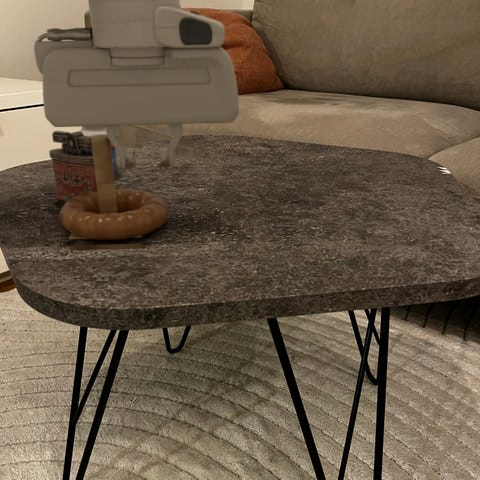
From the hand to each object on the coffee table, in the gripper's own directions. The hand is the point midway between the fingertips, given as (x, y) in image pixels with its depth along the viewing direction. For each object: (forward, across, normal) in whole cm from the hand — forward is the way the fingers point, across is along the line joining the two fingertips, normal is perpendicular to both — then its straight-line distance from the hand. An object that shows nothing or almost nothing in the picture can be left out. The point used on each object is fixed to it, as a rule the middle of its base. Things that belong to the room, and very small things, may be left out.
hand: (148, 166), depth 65 cm
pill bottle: (+8, -10, +25) cm, 28 cm away
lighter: (+8, -10, +10) cm, 17 cm away
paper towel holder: (+8, -5, 0) cm, 10 cm away
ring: (+5, -4, 0) cm, 7 cm away
